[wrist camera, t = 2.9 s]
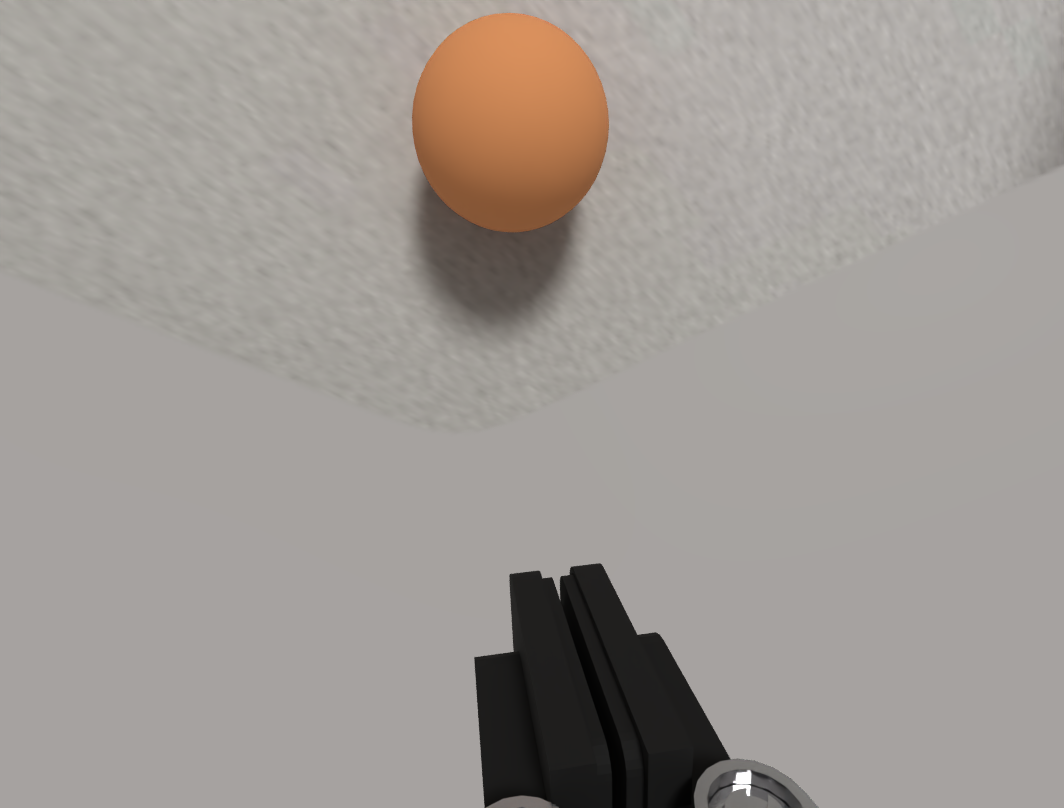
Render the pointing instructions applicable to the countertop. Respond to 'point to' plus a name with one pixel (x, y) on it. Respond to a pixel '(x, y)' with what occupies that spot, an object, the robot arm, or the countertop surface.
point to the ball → (510, 122)
